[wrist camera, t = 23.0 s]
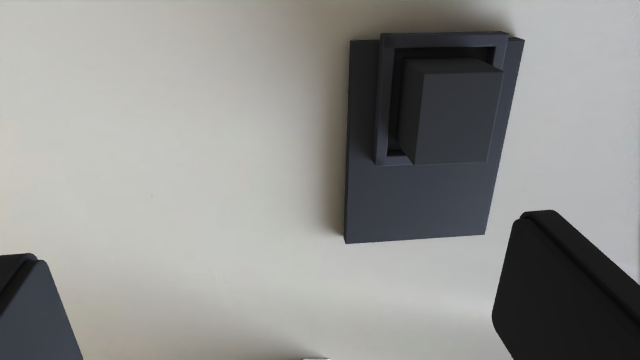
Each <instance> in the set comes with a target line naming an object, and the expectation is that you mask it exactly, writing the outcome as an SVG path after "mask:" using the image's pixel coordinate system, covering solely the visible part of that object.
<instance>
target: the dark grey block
mask: <svg viewBox="0 0 640 360" xmlns="http://www.w3.org/2000/svg"><path fill="white" fill-rule="evenodd" d="M503 76H504V71H502V70H500V69H498V68H496V67H494V66H492V65H490V64H488V63H486V62H484V61H482V60H480V59H477V58H475V57H473V56H452V57H407V58H402V68H401V80H400V91H399V103H398V114H397V126H396V137H395V140H396V142H397V143H398V144H399V146H400V147H401V149H402V150H403V151H404V153H405V154H406V155H407V157H408V158H409V160H410V161H411V162H412V164H413V165H414V166H420V165H440V164H460V163H481V162H487V159H488V154H489V149H490V144H491V139H492V133H493V128H494V123H495V118H496V113H497V107H498V102H499V97H500V92H501V87H502V82H503Z"/></svg>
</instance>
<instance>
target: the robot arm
mask: <svg viewBox="0 0 640 360" xmlns="http://www.w3.org/2000/svg"><path fill="white" fill-rule="evenodd" d="M492 322H493V325H494V328H495V330H496V332H497V333H498V335H499V337H500V338H501V340H502V341H503V343H504V345H505V346H506V348H507V350H508V351H509V353H510V354H511V356H512V358H513V359H514V360H640V285H639V284H637V283H636V282H635V281H634V280H633V279H632V278H631V277H630V276H628V275H627V274H626V273H625V272H624V271H623V270H622V269H620V268H619V267H618V266H617V265H616V264H615V263H614V262H613V261H611V260H610V259H609V258H608V257H607V256H606V255H605V254H604V253H602V252H601V251H600V250H599V249H598V248H597V247H596V246H595V245H593V244H592V243H591V242H590V241H589V240H588V239H587V238H586V237H584V236H583V235H582V234H581V233H580V232H579V231H578V230H577V229H575V228H574V227H573V226H572V225H571V224H570V223H569V222H568V221H566V220H565V219H564V218H563V217H562V216H561V215H560V214H559V213H557V212H556V211H554V210H541V211H529V212H524V213H523V214H522V215H521V216H520V219H517V220H515V222H514V223H513V226H512V230H511V234H510V238H509V242H508V247H507V251H506V255H505V259H504V264H503V268H502V272H501V276H500V281H499V285H498V289H497V293H496V298H495V302H494V306H493V310H492ZM0 360H83V357H82V354H81V351H80V349H79V346H78V344H77V341H76V338H75V336H74V333H73V330H72V328H71V325H70V322H69V320H68V317H67V315H66V312H65V309H64V307H63V304H62V301H61V299H60V296H59V293H58V291H57V288H56V286H55V283H54V280H53V278H52V275H51V272H50V270H49V267H48V265H47V263H46V262H45V261H44V260H38V259H37V257H36V256H35V255H34V254H31V253H24V254H12V255H0Z"/></svg>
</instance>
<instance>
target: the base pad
mask: <svg viewBox="0 0 640 360" xmlns="http://www.w3.org/2000/svg"><path fill="white" fill-rule="evenodd" d="M508 36H509V34H508V33H505V32H502V31H497V32H435V33H381V34H380V40H358V41H350V59H349V89H348V119H347V149H346V179H345V209H344V240H345V244H353V243H368V242H383V241H398V240H412V239H427V238H442V237H456V236H471V235H484V234H485V230H486V226H487V221H488V216H489V211H490V206H491V201H492V197H493V192H494V187H495V182H496V177H497V172H498V168H499V163H500V158H501V153H502V148H503V143H504V139H505V134H506V129H507V124H508V119H509V115H510V110H511V105H512V100H513V95H514V90H515V86H516V81H517V76H518V71H519V66H520V61H521V57H522V52H523V47H524V42H525V40H523V39H520V38H508ZM452 56H473V57H475V58H477V59H480V60H482V61H484V62H486V63H488V64H490V65H492V66H494V67H496V68H498V69H500V70H502V71H504V76H503V82H502V87H501V92H500V97H499V102H498V107H497V113H496V118H495V123H494V128H493V133H492V139H491V144H490V149H489V154H488V159H487V162H481V163H460V164H440V165H420V166H414V165H413V164H412V162H411V161H410V160H409V158H408V157H407V155H406V154H405V153H404V151H403V150H402V149H401V147H400V146H399V144H398V143H397V142H396V140H395V137H396V126H397V114H398V103H399V91H400V80H401V68H402V58H407V57H452Z"/></svg>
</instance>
